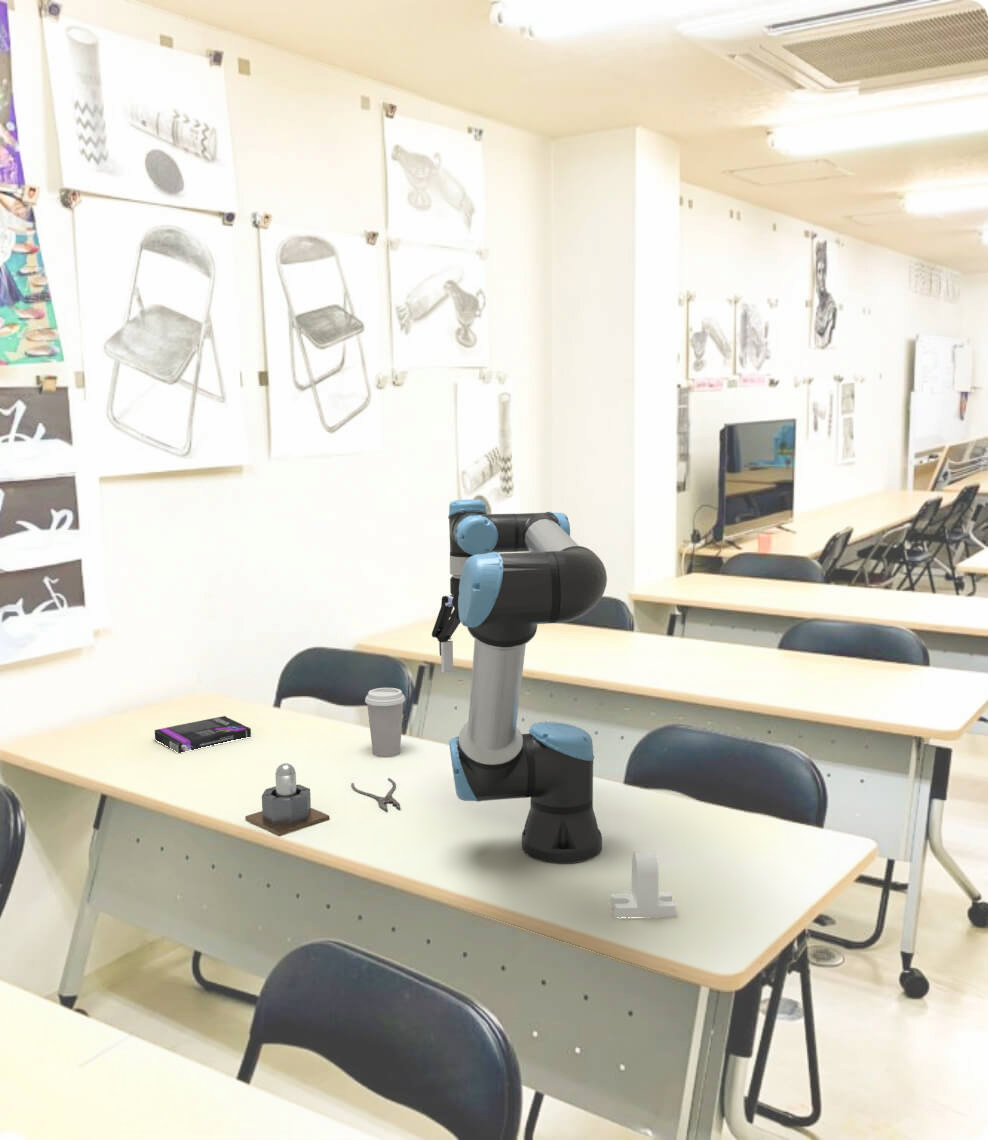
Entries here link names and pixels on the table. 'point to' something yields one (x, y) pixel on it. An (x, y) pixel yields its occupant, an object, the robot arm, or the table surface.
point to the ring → (286, 806)
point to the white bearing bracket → (644, 891)
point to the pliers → (382, 800)
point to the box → (201, 733)
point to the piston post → (286, 789)
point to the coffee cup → (385, 720)
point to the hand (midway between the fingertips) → (469, 677)
